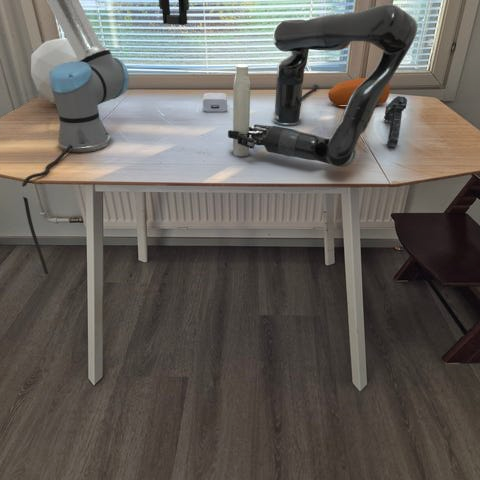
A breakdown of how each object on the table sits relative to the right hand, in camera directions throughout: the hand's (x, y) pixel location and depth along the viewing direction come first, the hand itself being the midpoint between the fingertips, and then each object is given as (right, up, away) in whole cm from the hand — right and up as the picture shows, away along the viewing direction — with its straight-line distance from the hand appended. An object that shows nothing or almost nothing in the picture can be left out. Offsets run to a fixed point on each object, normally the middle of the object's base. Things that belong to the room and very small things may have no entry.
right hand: (233, 130), depth 122 cm
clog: (+50, +23, +46) cm, 72 cm away
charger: (-8, +21, +42) cm, 48 cm away
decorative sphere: (-66, +22, +42) cm, 81 cm away
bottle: (+2, -6, +3) cm, 7 cm away
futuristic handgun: (+54, +4, +18) cm, 57 cm away
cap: (-16, +28, -12) cm, 34 cm away
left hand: (-16, +26, -11) cm, 33 cm away
